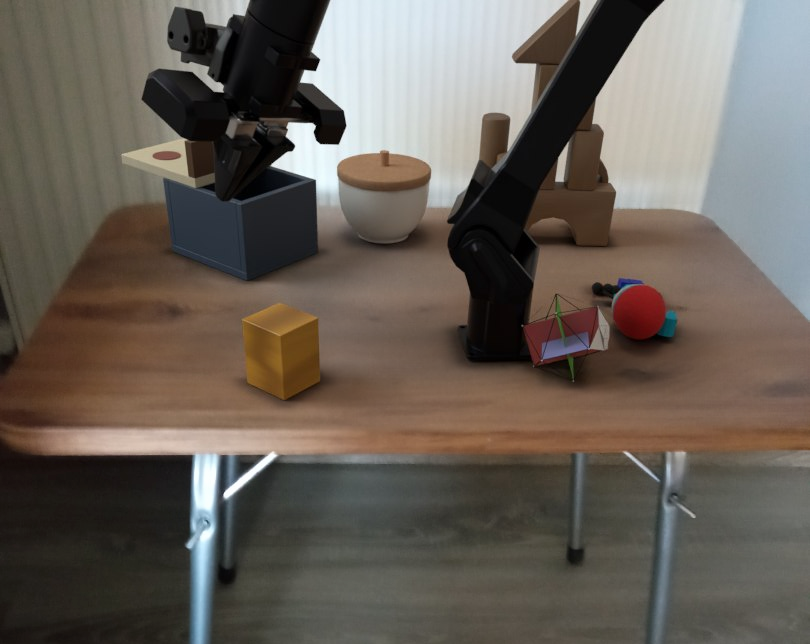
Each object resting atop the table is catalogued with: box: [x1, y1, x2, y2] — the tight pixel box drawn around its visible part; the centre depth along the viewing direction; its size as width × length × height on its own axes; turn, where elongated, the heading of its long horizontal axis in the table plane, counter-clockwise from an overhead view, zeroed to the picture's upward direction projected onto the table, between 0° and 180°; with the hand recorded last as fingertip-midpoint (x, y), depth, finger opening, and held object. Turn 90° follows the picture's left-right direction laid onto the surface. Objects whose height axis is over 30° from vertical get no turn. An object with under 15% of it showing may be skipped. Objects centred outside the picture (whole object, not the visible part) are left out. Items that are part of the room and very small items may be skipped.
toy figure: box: [591, 277, 678, 340], centre depth 89 cm, size 8×5×15 cm
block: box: [241, 302, 321, 401], centre depth 76 cm, size 4×4×6 cm
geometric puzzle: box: [522, 292, 611, 383], centre depth 80 cm, size 7×7×8 cm
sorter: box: [162, 165, 319, 282], centre depth 98 cm, size 12×11×8 cm
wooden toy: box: [478, 0, 617, 247], centre depth 100 cm, size 16×7×25 cm, turn 92°
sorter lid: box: [121, 138, 272, 188], centre depth 97 cm, size 12×11×4 cm
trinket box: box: [336, 149, 432, 245], centre depth 103 cm, size 11×11×9 cm
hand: (221, 198), depth 81 cm, fingers closed
